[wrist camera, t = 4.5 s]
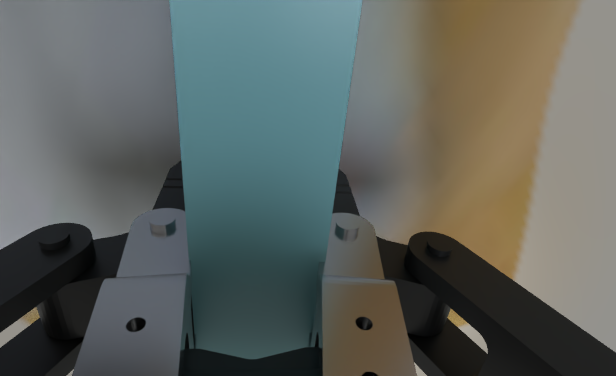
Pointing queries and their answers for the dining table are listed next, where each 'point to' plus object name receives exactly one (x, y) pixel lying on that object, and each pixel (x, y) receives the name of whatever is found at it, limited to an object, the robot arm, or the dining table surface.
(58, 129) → the dining table surface
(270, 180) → the panel
